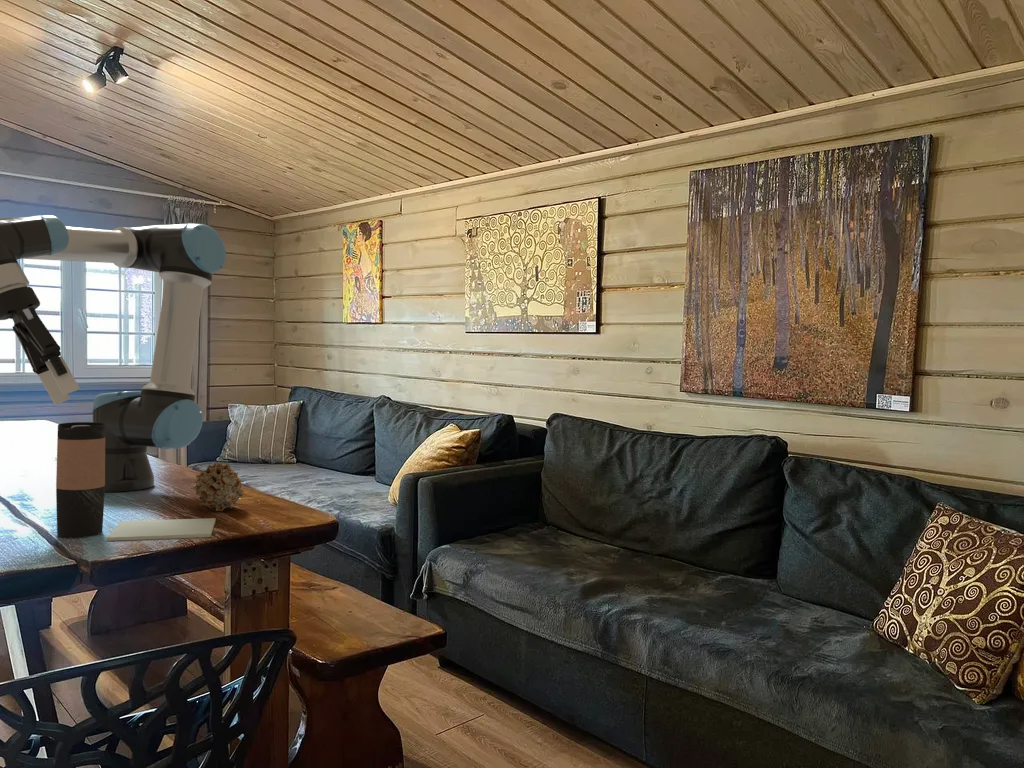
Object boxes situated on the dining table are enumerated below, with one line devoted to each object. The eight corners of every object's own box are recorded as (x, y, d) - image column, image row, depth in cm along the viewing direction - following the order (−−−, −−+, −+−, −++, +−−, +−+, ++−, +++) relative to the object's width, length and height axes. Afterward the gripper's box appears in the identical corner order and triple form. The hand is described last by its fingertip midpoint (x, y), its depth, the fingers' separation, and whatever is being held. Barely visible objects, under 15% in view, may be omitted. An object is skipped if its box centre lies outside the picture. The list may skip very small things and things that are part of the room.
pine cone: (185, 504, 161) (186, 459, 161) (230, 500, 167) (231, 457, 166) (214, 525, 143) (215, 475, 143) (263, 520, 149) (264, 471, 149)
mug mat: (106, 540, 129) (106, 537, 129) (120, 524, 142) (120, 521, 142) (210, 536, 135) (210, 533, 135) (215, 521, 147) (215, 518, 147)
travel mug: (100, 526, 139) (102, 421, 138) (107, 535, 133) (109, 425, 132) (53, 531, 134) (55, 422, 134) (57, 540, 128) (59, 426, 128)
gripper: (-17, 315, 141) (39, 414, 144) (-12, 282, 122) (53, 396, 125) (25, 302, 146) (78, 397, 149) (37, 267, 126) (98, 378, 129)
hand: (67, 397), depth 137 cm, fingers open, 13 cm apart
